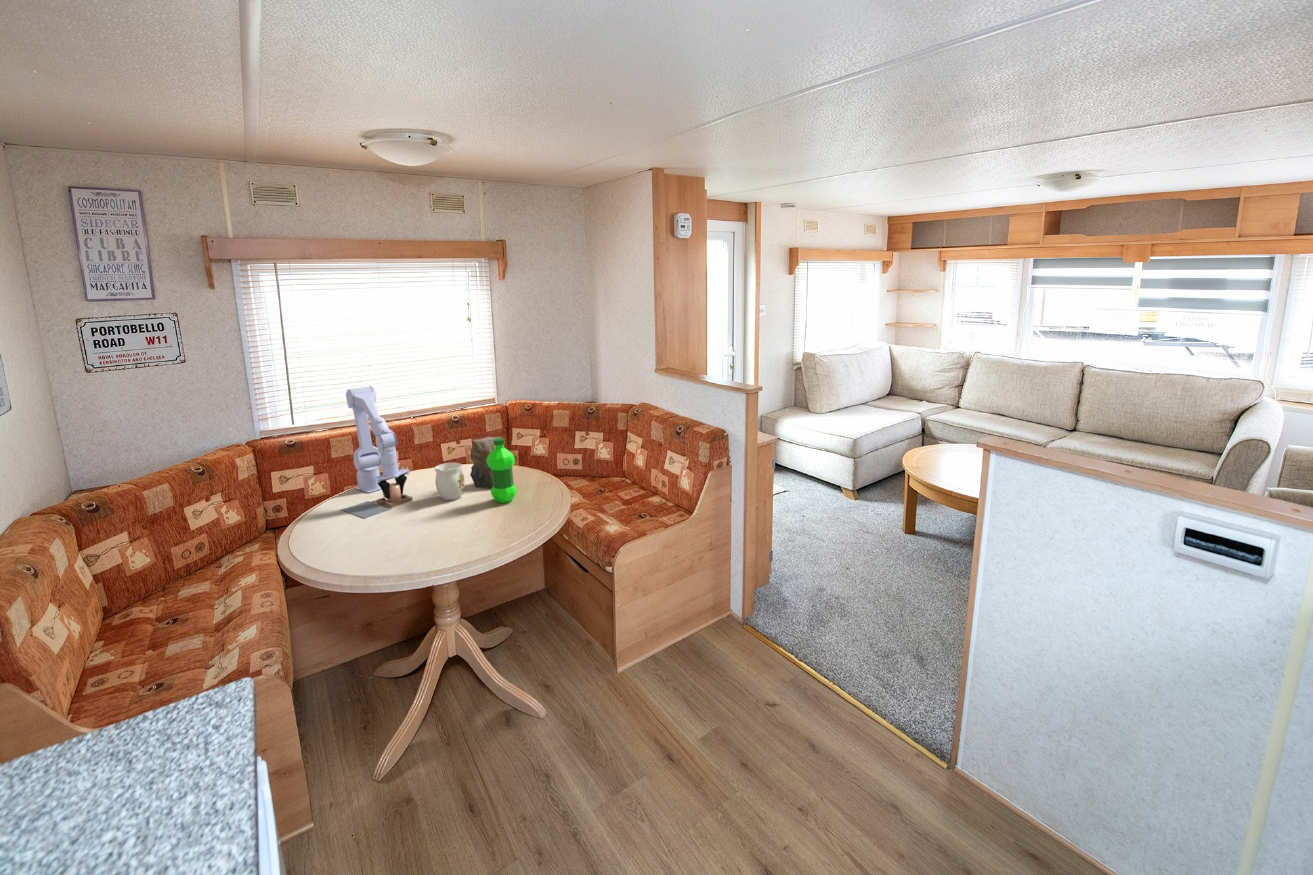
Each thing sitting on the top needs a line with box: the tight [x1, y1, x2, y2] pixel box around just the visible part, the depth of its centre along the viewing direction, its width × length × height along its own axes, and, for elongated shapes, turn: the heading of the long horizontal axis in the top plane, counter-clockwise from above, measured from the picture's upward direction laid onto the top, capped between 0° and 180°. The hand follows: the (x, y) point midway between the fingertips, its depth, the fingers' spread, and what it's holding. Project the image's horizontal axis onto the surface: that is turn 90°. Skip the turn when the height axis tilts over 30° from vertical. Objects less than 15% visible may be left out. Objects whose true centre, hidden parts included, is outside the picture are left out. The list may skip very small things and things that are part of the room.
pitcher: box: [434, 462, 466, 501], centre depth 246 cm, size 11×18×14 cm, turn 5°
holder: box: [376, 493, 414, 509], centre depth 244 cm, size 10×10×2 cm
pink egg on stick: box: [382, 482, 402, 503], centre depth 244 cm, size 9×5×7 cm, turn 55°
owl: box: [469, 435, 502, 490], centre depth 260 cm, size 13×13×20 cm
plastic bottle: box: [487, 437, 518, 504], centre depth 239 cm, size 10×10×25 cm
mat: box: [341, 500, 391, 519], centre depth 236 cm, size 16×11×1 cm
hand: (394, 496), depth 243 cm, fingers closed on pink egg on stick, 5 cm apart
